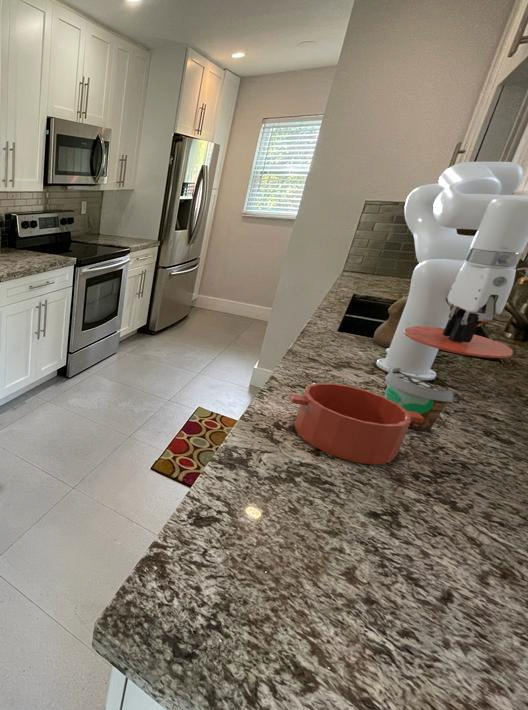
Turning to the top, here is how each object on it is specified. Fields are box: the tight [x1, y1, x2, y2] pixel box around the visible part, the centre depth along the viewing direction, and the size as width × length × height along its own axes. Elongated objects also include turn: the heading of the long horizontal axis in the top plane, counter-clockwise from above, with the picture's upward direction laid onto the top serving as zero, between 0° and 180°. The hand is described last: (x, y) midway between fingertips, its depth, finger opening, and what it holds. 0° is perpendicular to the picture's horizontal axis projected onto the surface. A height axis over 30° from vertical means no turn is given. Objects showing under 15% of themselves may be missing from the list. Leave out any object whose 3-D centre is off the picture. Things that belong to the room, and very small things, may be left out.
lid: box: [404, 318, 514, 359], centre depth 93 cm, size 18×18×6 cm
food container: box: [384, 368, 454, 431], centre depth 90 cm, size 12×6×10 cm, turn 5°
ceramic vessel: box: [373, 292, 448, 349], centre depth 126 cm, size 16×22×30 cm
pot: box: [288, 382, 424, 465], centre depth 83 cm, size 17×22×8 cm
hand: (456, 338), depth 93 cm, fingers closed on lid, 2 cm apart
